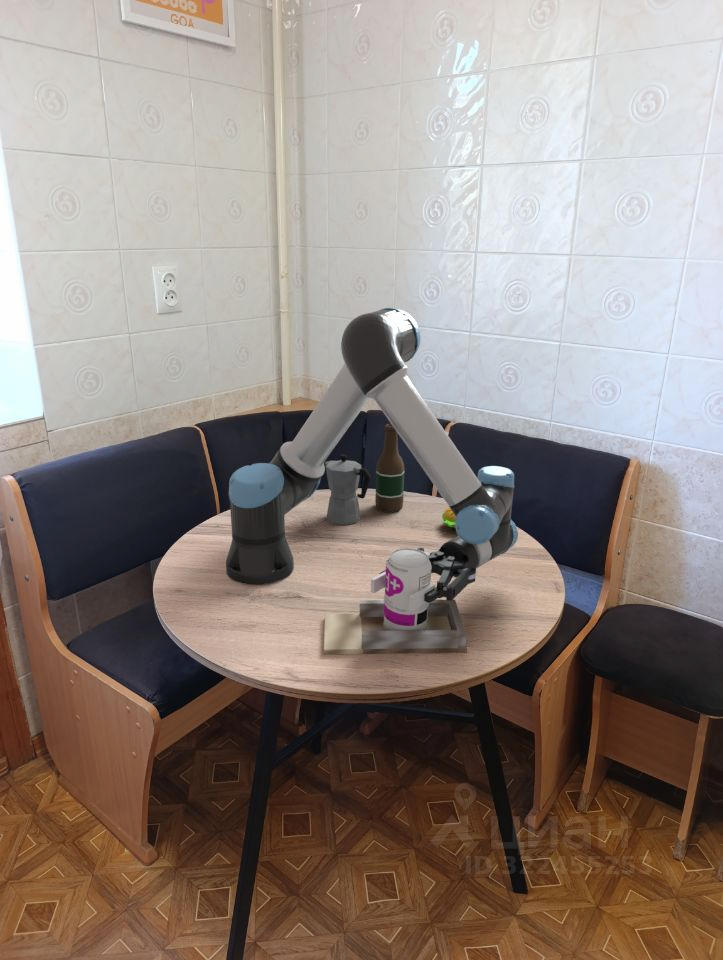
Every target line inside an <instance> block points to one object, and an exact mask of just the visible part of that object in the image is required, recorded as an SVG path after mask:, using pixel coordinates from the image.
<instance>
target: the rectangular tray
mask: <svg viewBox="0 0 723 960" xmlns="http://www.w3.org/2000/svg"><path fill="white" fill-rule="evenodd" d="M383 617H384V599H381V600H378V599H375V600H373V599H372V600H371V599H369V600H366V599H364V600H359V613H325V614H324V637H323V638H324V639H323V654H324V655H366V654H367V655H369V654H370V655H374V654H376V655H377V654H378V655H379V654H380V655H381V654H384V655H385V654H389V655H391V654H454V653H455V654H458V653H460V654H461V653H464V654H465V653H466V654H467V653H468V645H467V642H466V641H467V632H466V628H465V626H464V623H463V620H462V617H461V614H460V610H459V608H458V605H457V601H456V599H453V600H451V601H449V600H447V599H436V600H434V601H432V602H430V603H429V608H428V621H427V628H426V630H421V631H387V630H386V629H385V628H384V625H383Z"/></svg>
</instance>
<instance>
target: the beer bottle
mask: <svg viewBox="0 0 723 960" xmlns="http://www.w3.org/2000/svg"><path fill="white" fill-rule="evenodd" d="M383 440H384V443H383V451H382V454H381V455H380V457H379V458H378V460H377V463H376V467H375V502H374V503H375V508H376V509H377V510H378V511H380V512H383V513H387V514H392V513H396V512H400V511H401V510H402V508H403V506H404V496H405V495H404V490H405V464H404V461H403V458H402V456H401V455H400V453H399V447H398V444H399V443H398V441H399V440H398V433H397V431H396V430H395V428H394V427H393V425H392V424H391V423H387V424H385V425H384V439H383Z"/></svg>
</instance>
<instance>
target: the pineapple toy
mask: <svg viewBox="0 0 723 960" xmlns="http://www.w3.org/2000/svg"><path fill="white" fill-rule="evenodd" d="M441 517H442V520H443V522H442V523H443V525H445V526H447V527H449V528H451V529H456V528H455V521H456V516H455V515H454V513H453V512H452V510H451V509H450V507H447V508H446V509H445V510H444V511H443V513H441Z"/></svg>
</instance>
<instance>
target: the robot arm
mask: <svg viewBox="0 0 723 960" xmlns="http://www.w3.org/2000/svg"><path fill="white" fill-rule="evenodd" d="M420 343H421V331H420V327H419V325H418V323H417V321H416V320H415V319H414V317H413V316H412V315H411V314H410V313H409V312H406V311H405V310H402V309H399V308H394V307H393V308H392V307H385V308H380V309H379V310H376V311H372V312H369V313H368V312H367V313H363V314H360V315H358V316H357V317H355V318H353V319H352V320H350V322H349V323H348V324H347V325H346V327H345V329H344V331H343V333H342V336H341V342H340V346H341V347H340V349H341V355H342V358H343V361H344V364H343V365H342V367H341V369H340V370H339V372H338V373H337V374H336V376H335V377H334V379H333V380H332V382H331V384H330V385H329V387H328V388H327V390H325V392H324V394H323V396H322V397H321V399H320V400H319V401H318V402H317V405H316V406H315V407H314V409H313V410H312V412H311V413H310V415H309V417H308V418H307V419H306V421H305V423H304V424H303V425H302V426H301V428H300V430H299V431H298V433H297V434H296V436H295V437H294V439H293V440H292V441H286V442H284V443H283V444H282V445H281V446H280V448H279V450H277V452H276V453H275V455H274V457H273V458H272V460H271V461H270V462H268V463H265V462H257V463H252V464H251V465H244V466H242V467H240V468H238V469H236V470H235V471H234V472H233V473H232V474H231V476H230V478H229V483H228V486H229V487H228V498H229V510H230V523H231V524H230V525H231V537H232V538H231V542H230V543H231V544H230V546H229V550H228V553H227V557H226V561H225V569H226V570H225V571H226V575H227V576H228V578H229V579H230V580H232V581H235V582H237V583H238V584H239V583H240V584H242V585H243V584H244V585H253V586H257V585H268V584H273V583H277V582H279V581H282V580H284V579H286V578H287V577H289V576H290V575H291V574H292V573H293V571H294V568H295V567H294V565H295V563H294V562H295V561H294V555H293V553H292V550H291V548H290V545H289V543H288V540H287V538H286V529H285V528H286V526H285V525H286V524H285V515H286V514H287V513H289V512H290V511H291V510H293V509H294V508H295V507H297V506H298V505H300V504H301V503H303V502H305V501H306V500H307V499H309V498H310V497H312V496H313V494H315V492H316V490H317V489H318V487H319V485H320V483H321V479H322V477H323V476H324V474H325V471H326V466H325V463H324V462H326V460H327V459H328V457H329V456H330V455H331V453H332V452H333V450H334V449H335V447H336V446H337V444H338V443H339V442H340V440H341V439H342V438H343V436H344V435H345V434H346V433H347V431H348V429H349V427H351V425H352V423H353V422H354V421H355V420H356V418H357V417H358V415H360V413H361V411H362V410H363V408H364V407H365V405H366V404H367V403H368V402H369V400H370V399H373V400H374V401H375V403H376V404H377V406H378V407H379V408H380V409H381V412H383V414H384V415H385V417H386V418H387V420H388V421H389V422H390V423H389V424H392V425H393V427H394V428H395V430H396V431H397V435H399V437H400V439H402V441H403V443H404V445H406V448H408V450H409V452H410V453H411V455H413V457H414V458H415V460H416V461H417V462H418V463H419V465H420V467H421V469H422V470H423V471H424V473H425V474H426V476H427V477H428V479H429V480H430V481H431V483H432V484H433V485H434V487H435V489H436V490H437V492H438V493H439V494H440V496H441V498H443V500H444V501H445V503H446V504H447V505H448V508H450V509H451V510H452V512H453V513H454V515H455V516H456V521H455V528H454V529H455V531H456V534H457V536H455V537H453V538H451V539H450V540H448V541H446V542H444V543H443V544H442V545H441V546H440V548H439V549H438V550H437V551H432V552H426V551H425V548H424V547H418V548H416V549H417V550H420V551H422V552H424V553H426V554H427V555H428V558H429V561H430V563H431V566H432V569H431V574H437V575H439V576H440V577H439V579H438V580H436V583H434V582H430V585H428V586H426V587H425V588H423V589H421V590H419V591H417V592H416V593H414V594H412V595H410V596H409V610H410V611H413V610H415V609H417V608H418V607H420V606H422V605H423V604H425V603H427V602H428V603H430V602H432V601H434V600H438V599H442V598H445V600H449V601H451V600H455V598H456V597H457V596H458V595H460V593H461V592H462V591H463V590H464V589H465V588H466V587H467V586H468V585H470V584H472V583H475V582H476V575H477V573H476V572H477V569H478V568H480V567H481V566H483V565H485V564H487V563H488V562H489V561H492V560H494V559H496V558H498V557H499V556H501V555H503V554H505V553H507V552H508V551H509V549H512V547H514V546H515V544H516V543H517V541H518V538H519V537H518V536H519V531H518V529H517V526H516V523H515V522H514V521H513V520H512V509H513V508H512V506H513V499H514V489H515V473H514V472H513V471H512V470H511V469H510V468H508V467H503V466H497V465H490V466H484V467H481V468H480V469H478V472H477V476H476V474H475V473H474V471H473V469H472V468H471V467H470V465H469V464H468V462H467V461H466V459H465V457H464V456H463V454H461V452H460V451H459V450H458V448H457V446H456V445H455V443H454V442H453V441H452V439H451V438H450V436H449V434H448V433H447V432H446V430H445V429H444V428H443V426H442V425H441V423H440V422H439V420H438V419H437V417H436V416H435V414H434V413H433V412H432V410H431V409H430V408H429V405H428V404H427V402H426V401H425V400H424V399H423V398H422V395H420V393H419V392H418V390H417V388H416V387H415V385H414V384H413V383H412V381H411V379H410V378H409V377H408V374H407V373H408V366H407V364H406V363H407V362H409V361H410V360H411V359H413V358H414V357H415V355H416V354H417V351H418V350H419V348H420V345H421V344H420ZM386 562H387V560H386ZM386 562H385V563H386ZM385 576H386V569H384V570H383V571H381V572H379V574H378V575H376V576H374V577H372V578H371V579H370V592H371V593H373V594H375V593H378V592H379V591H380V590H382V589H385ZM454 577H455V578H454ZM453 578H454V579H453ZM452 579H453V581H452Z"/></svg>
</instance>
